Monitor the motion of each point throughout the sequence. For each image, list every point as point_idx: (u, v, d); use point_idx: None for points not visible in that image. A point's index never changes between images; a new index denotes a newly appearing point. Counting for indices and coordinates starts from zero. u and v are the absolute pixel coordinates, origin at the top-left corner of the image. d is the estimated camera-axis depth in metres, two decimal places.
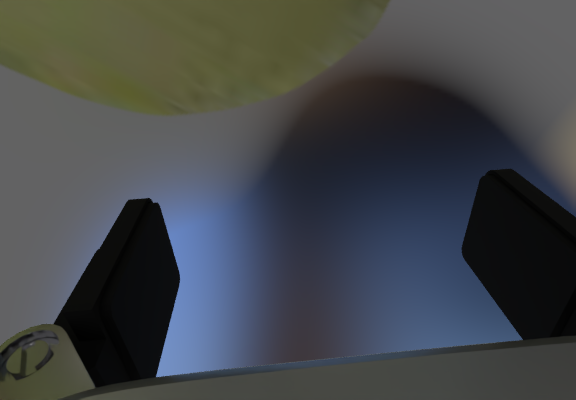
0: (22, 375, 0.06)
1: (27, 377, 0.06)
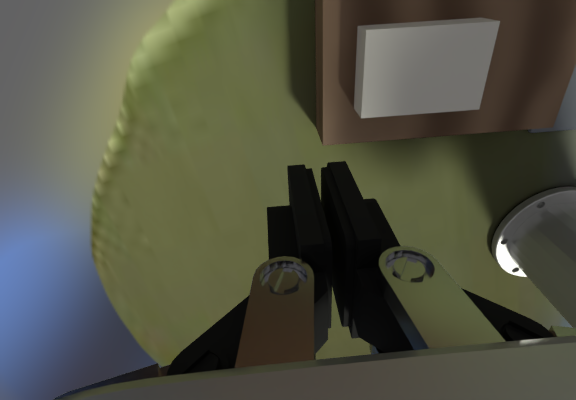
0: (274, 290, 0.07)
1: (276, 294, 0.07)
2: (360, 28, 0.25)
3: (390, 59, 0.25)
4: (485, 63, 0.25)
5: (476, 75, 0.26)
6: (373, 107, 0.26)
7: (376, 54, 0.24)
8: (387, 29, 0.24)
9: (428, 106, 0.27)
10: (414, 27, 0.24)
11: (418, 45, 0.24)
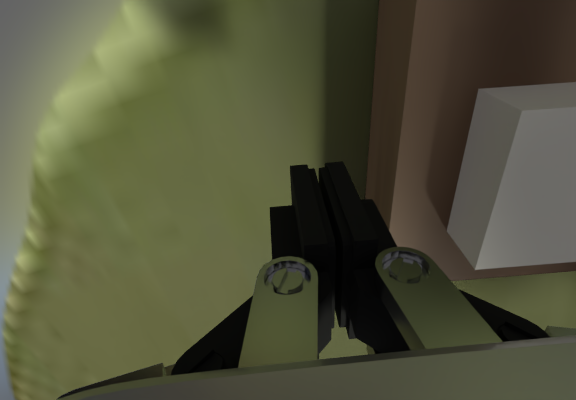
0: (278, 290, 0.07)
1: (280, 294, 0.07)
2: (491, 97, 0.11)
3: (560, 167, 0.11)
4: None
5: None
6: (503, 252, 0.13)
7: (532, 159, 0.11)
8: (570, 108, 0.10)
9: None
10: None
11: None
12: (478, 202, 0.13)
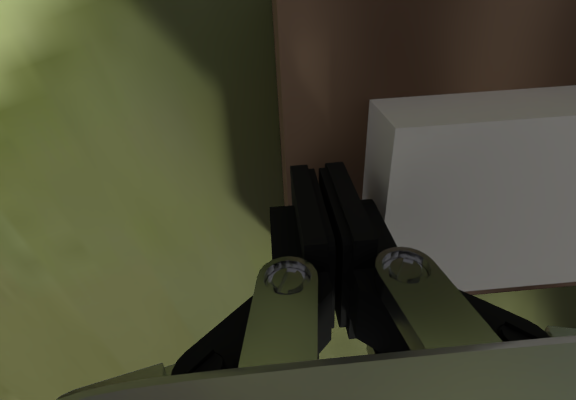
0: (278, 290, 0.07)
1: (280, 294, 0.07)
2: (377, 110, 0.10)
3: (451, 191, 0.10)
4: None
5: None
6: None
7: (418, 181, 0.10)
8: (452, 125, 0.09)
9: (526, 275, 0.12)
10: (523, 120, 0.09)
11: (526, 161, 0.09)
12: None
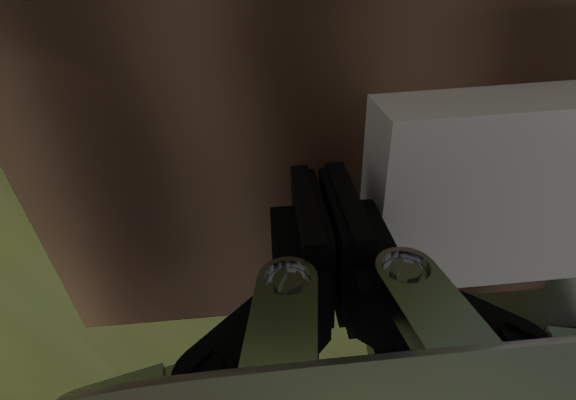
0: (278, 290, 0.07)
1: (280, 294, 0.07)
2: (375, 105, 0.10)
3: (449, 186, 0.10)
4: None
5: None
6: None
7: (415, 176, 0.10)
8: (449, 119, 0.09)
9: (525, 270, 0.12)
10: (521, 113, 0.09)
11: (524, 155, 0.09)
12: None
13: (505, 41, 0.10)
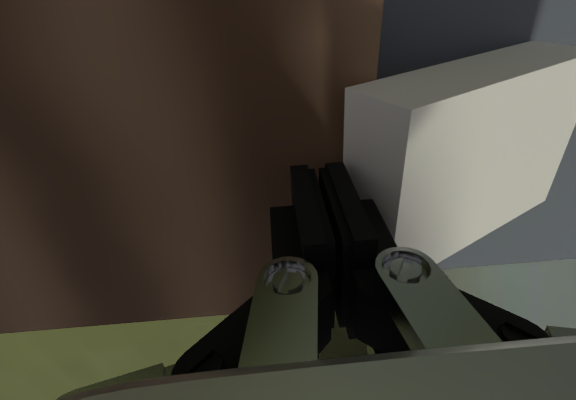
0: (278, 290, 0.07)
1: (280, 294, 0.07)
2: (365, 97, 0.09)
3: (448, 163, 0.10)
4: (569, 127, 0.13)
5: (555, 150, 0.13)
6: None
7: (425, 161, 0.09)
8: (451, 98, 0.09)
9: (489, 223, 0.13)
10: (496, 83, 0.10)
11: (496, 121, 0.10)
12: None
13: (206, 55, 0.10)
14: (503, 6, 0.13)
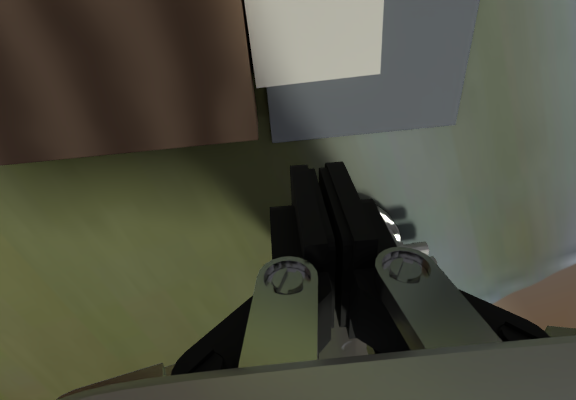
0: (278, 290, 0.07)
1: (280, 294, 0.07)
2: None
3: (274, 23, 0.23)
4: (377, 23, 0.24)
5: (370, 37, 0.24)
6: (267, 76, 0.25)
7: (258, 18, 0.23)
8: None
9: (325, 72, 0.25)
10: None
11: (302, 7, 0.23)
12: None
13: None
14: None
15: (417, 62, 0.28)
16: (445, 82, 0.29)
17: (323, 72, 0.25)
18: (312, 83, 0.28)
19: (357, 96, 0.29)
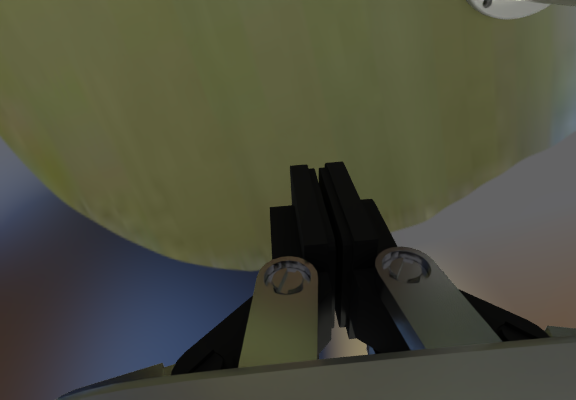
0: (278, 290, 0.07)
1: (280, 294, 0.07)
2: None
3: None
4: None
5: None
6: None
7: None
8: None
9: None
10: None
11: None
12: None
13: None
14: None
15: None
16: None
17: None
18: None
19: None
